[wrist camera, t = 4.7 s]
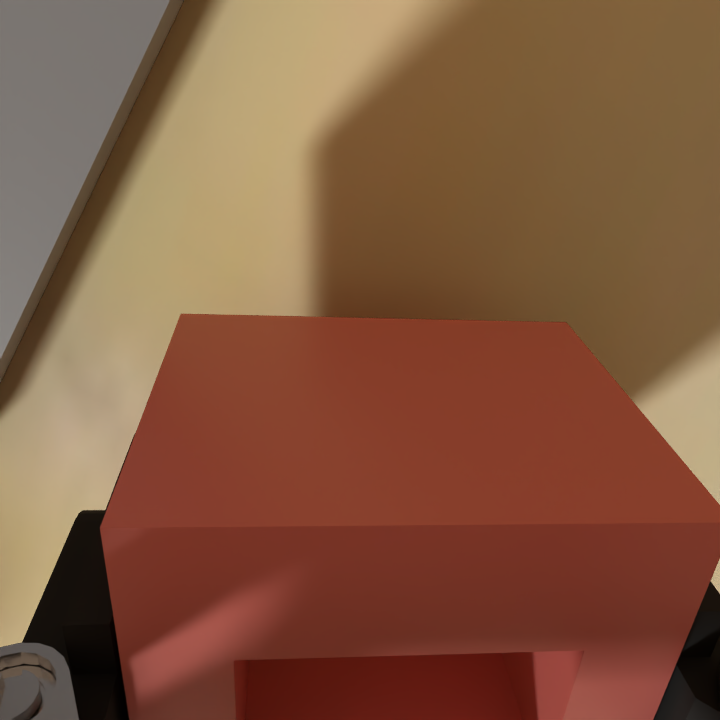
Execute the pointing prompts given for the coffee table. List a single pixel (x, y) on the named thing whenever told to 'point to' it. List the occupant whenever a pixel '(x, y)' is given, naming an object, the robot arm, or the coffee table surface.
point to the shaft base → (61, 127)
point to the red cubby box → (399, 527)
